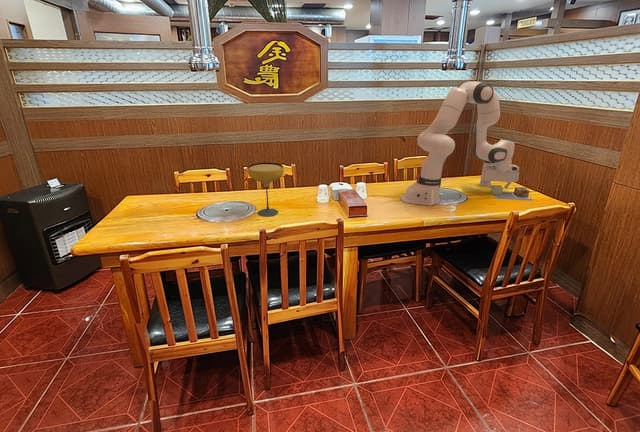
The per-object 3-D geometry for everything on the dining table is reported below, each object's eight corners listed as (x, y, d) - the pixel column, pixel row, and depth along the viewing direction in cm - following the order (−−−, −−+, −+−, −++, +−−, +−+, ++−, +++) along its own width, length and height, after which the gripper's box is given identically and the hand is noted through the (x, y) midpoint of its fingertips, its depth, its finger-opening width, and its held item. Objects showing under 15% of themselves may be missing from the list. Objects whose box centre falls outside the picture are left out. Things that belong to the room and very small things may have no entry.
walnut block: (517, 197, 206) (518, 190, 204) (513, 194, 211) (515, 187, 209) (527, 197, 205) (529, 190, 203) (523, 194, 210) (525, 187, 209)
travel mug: (478, 184, 231) (484, 155, 224) (489, 185, 229) (495, 156, 222) (479, 187, 226) (484, 157, 218) (490, 188, 224) (496, 158, 216)
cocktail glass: (287, 206, 191) (285, 162, 181) (282, 219, 174) (280, 171, 165) (254, 206, 192) (251, 162, 182) (247, 219, 175) (243, 171, 165)
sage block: (493, 193, 212) (494, 187, 210) (490, 191, 216) (492, 185, 215) (501, 194, 211) (503, 187, 210) (499, 191, 216) (500, 185, 214)
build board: (497, 200, 204) (497, 198, 203) (489, 192, 217) (489, 190, 217) (533, 202, 201) (533, 200, 201) (523, 194, 215) (523, 192, 214)
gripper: (485, 167, 206) (481, 189, 211) (522, 168, 203) (517, 190, 209) (482, 164, 212) (478, 185, 217) (518, 165, 209) (513, 187, 214)
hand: (497, 188), depth 213 cm, fingers open, 8 cm apart
